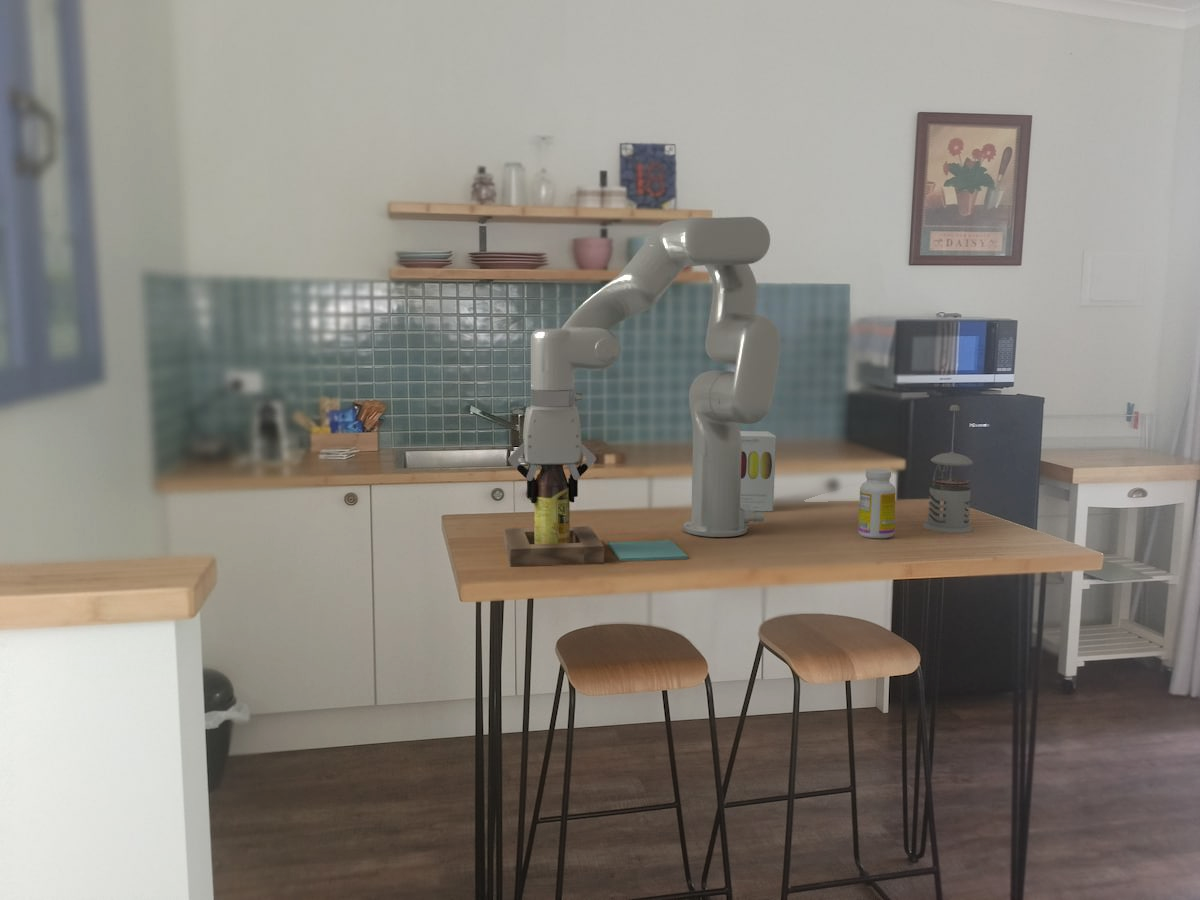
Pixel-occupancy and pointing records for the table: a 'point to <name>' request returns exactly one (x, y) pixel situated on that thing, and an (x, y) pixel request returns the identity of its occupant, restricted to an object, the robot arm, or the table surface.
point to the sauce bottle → (552, 506)
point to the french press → (949, 494)
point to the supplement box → (757, 470)
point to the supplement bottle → (877, 505)
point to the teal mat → (647, 550)
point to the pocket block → (553, 548)
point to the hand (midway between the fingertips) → (552, 500)
